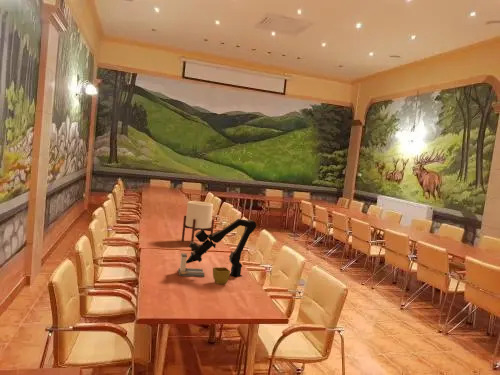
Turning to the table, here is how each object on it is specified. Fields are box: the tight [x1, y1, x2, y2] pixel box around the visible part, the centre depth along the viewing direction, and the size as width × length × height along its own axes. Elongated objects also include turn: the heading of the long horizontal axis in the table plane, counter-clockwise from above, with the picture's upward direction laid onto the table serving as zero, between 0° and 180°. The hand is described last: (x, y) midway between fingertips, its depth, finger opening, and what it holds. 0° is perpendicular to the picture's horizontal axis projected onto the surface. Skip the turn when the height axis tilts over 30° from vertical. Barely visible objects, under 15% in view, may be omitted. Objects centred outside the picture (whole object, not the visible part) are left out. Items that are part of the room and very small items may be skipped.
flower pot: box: [212, 266, 231, 285], centre depth 264 cm, size 9×9×9 cm
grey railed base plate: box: [177, 267, 205, 278], centre depth 278 cm, size 16×12×2 cm
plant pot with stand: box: [181, 200, 215, 243], centre depth 375 cm, size 22×22×36 cm
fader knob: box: [179, 252, 188, 271], centre depth 277 cm, size 3×6×11 cm, turn 14°
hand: (186, 262), depth 277 cm, fingers closed
